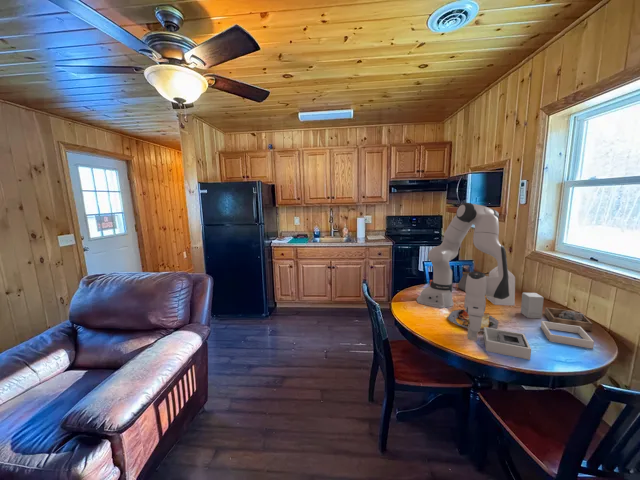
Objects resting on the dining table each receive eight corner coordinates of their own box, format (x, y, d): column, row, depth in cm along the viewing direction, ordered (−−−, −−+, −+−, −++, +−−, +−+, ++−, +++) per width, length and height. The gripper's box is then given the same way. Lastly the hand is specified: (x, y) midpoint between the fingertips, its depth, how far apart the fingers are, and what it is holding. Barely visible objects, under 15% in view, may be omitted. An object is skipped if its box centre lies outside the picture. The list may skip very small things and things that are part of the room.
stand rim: (552, 325, 139) (553, 318, 139) (544, 313, 153) (545, 307, 152) (591, 331, 132) (592, 323, 132) (579, 318, 145) (580, 311, 145)
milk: (514, 305, 165) (518, 265, 161) (494, 304, 167) (497, 265, 163) (504, 298, 177) (507, 260, 173) (486, 297, 179) (488, 260, 175)
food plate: (455, 309, 163) (455, 303, 162) (500, 319, 148) (500, 313, 147) (444, 326, 144) (444, 320, 143) (494, 339, 129) (495, 333, 128)
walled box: (485, 350, 119) (486, 340, 118) (483, 336, 131) (484, 326, 130) (530, 360, 111) (531, 349, 110) (523, 343, 123) (524, 333, 123)
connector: (467, 339, 129) (468, 324, 128) (467, 335, 132) (468, 320, 131) (477, 340, 127) (478, 325, 126) (476, 337, 130) (477, 322, 129)
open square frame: (549, 341, 125) (550, 334, 124) (540, 327, 138) (541, 320, 137) (593, 348, 118) (594, 341, 117) (579, 333, 131) (580, 326, 130)
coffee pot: (457, 291, 193) (458, 271, 190) (457, 286, 203) (458, 267, 200) (492, 294, 184) (493, 274, 181) (489, 289, 194) (491, 269, 191)
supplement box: (542, 318, 147) (544, 297, 145) (527, 318, 148) (529, 296, 146) (534, 313, 154) (536, 292, 152) (520, 312, 155) (522, 292, 153)
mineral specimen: (563, 332, 141) (583, 327, 140) (571, 328, 135) (592, 323, 133) (551, 315, 147) (570, 310, 146) (558, 310, 140) (578, 305, 139)
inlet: (499, 349, 118) (500, 341, 117) (497, 340, 126) (497, 332, 125) (524, 354, 114) (525, 346, 113) (520, 344, 122) (521, 336, 121)
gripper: (466, 297, 137) (465, 321, 140) (468, 312, 120) (466, 340, 122) (480, 298, 135) (479, 323, 137) (484, 314, 117) (482, 343, 119)
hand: (473, 331), depth 129 cm, fingers open, 8 cm apart
